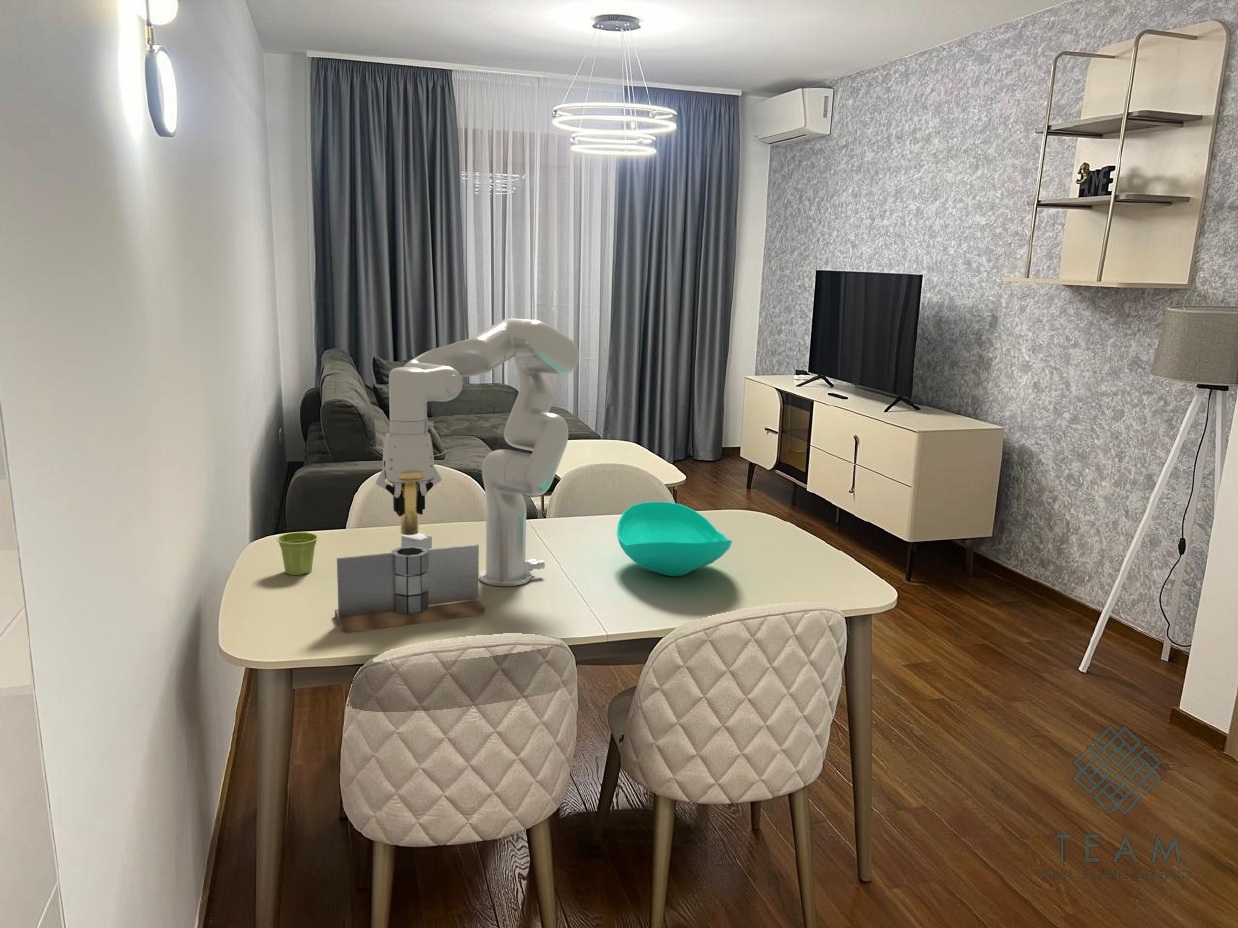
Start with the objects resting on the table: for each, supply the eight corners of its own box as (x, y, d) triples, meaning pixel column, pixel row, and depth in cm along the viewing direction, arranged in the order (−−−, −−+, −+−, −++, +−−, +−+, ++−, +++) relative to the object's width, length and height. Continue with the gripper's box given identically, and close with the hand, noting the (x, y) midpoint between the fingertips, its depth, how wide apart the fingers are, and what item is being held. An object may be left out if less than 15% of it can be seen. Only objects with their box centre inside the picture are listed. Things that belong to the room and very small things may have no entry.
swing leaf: (397, 614, 197) (396, 557, 195) (390, 603, 204) (389, 548, 201) (482, 603, 206) (483, 549, 203) (473, 593, 212) (473, 540, 209)
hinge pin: (420, 527, 203) (420, 466, 200) (428, 535, 197) (428, 472, 195) (391, 530, 200) (390, 468, 197) (397, 538, 195) (397, 474, 192)
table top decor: (750, 595, 222) (754, 541, 220) (636, 600, 216) (638, 545, 213) (700, 546, 260) (703, 500, 257) (602, 550, 254) (603, 502, 251)
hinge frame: (422, 601, 207) (422, 545, 204) (431, 612, 201) (431, 554, 198) (335, 611, 199) (334, 553, 196) (341, 623, 193) (340, 563, 190)
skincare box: (399, 584, 221) (399, 535, 219) (412, 579, 225) (412, 530, 223) (420, 589, 218) (419, 539, 216) (432, 584, 222) (432, 535, 220)
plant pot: (323, 566, 233) (322, 532, 231) (313, 578, 224) (311, 543, 222) (285, 565, 233) (284, 531, 231) (273, 577, 223) (271, 542, 222)
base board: (471, 599, 213) (471, 592, 213) (484, 614, 205) (484, 607, 204) (334, 616, 200) (334, 609, 200) (343, 632, 192) (343, 625, 191)
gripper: (442, 423, 201) (443, 506, 205) (363, 426, 194) (365, 512, 198) (452, 429, 195) (452, 515, 198) (371, 432, 187) (373, 521, 191)
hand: (409, 512), depth 198 cm, fingers closed on hinge pin, 3 cm apart
